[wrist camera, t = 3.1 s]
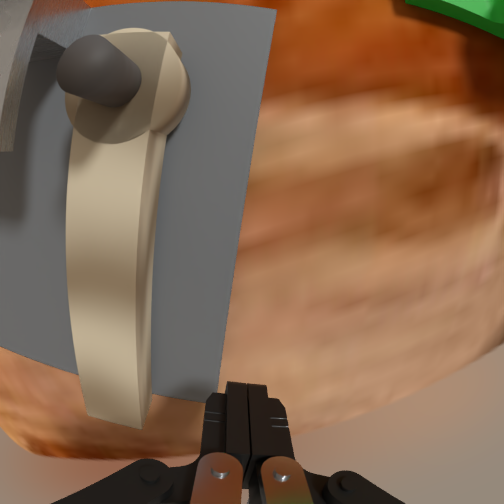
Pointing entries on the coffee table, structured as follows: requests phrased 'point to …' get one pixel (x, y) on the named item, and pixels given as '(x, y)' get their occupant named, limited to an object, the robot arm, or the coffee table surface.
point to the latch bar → (117, 207)
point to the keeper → (31, 47)
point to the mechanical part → (470, 12)
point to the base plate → (169, 203)
